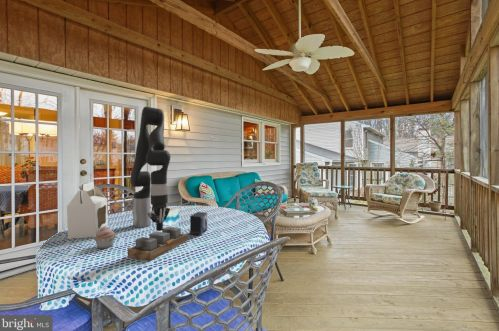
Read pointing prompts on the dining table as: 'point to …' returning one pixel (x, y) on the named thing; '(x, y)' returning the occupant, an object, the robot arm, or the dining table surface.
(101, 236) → the cupcake
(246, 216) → the dining table surface
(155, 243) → the rack
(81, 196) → the gable box
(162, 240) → the block
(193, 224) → the small box
